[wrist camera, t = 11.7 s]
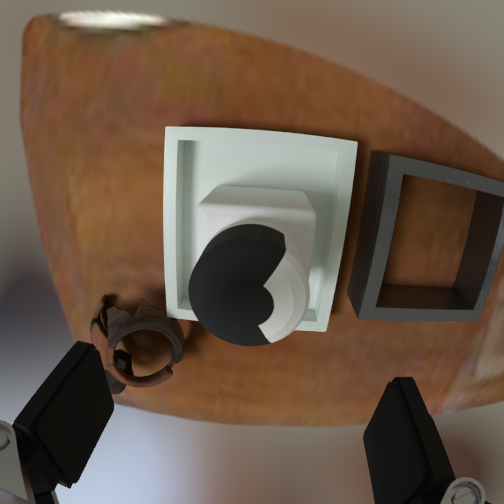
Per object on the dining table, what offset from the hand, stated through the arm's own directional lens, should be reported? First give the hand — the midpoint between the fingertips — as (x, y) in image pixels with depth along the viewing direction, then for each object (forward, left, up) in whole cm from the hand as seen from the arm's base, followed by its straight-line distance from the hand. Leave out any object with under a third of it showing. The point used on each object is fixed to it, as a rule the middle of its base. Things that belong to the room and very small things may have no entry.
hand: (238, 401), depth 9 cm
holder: (-15, -1, -19) cm, 24 cm away
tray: (0, 0, -19) cm, 19 cm away
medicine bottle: (0, 0, -18) cm, 18 cm away
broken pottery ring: (+12, +12, -19) cm, 26 cm away
